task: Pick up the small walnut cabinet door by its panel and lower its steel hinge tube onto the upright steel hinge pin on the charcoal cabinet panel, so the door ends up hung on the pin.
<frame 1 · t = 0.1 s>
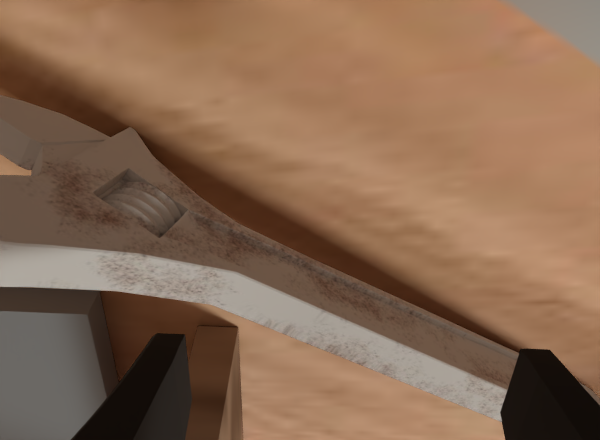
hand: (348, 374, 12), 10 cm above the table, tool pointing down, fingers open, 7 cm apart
wrench: (335, 257, 24), on the table
hinge board: (31, 422, 29), on the table
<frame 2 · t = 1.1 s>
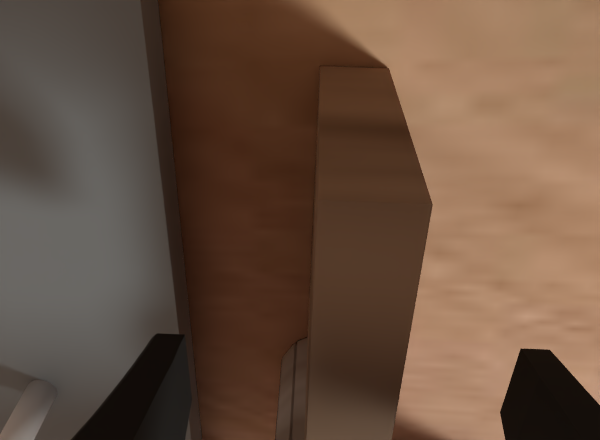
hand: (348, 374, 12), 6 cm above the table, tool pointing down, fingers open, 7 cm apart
hinge board: (35, 271, 19), on the table
door: (330, 369, 21), on the table
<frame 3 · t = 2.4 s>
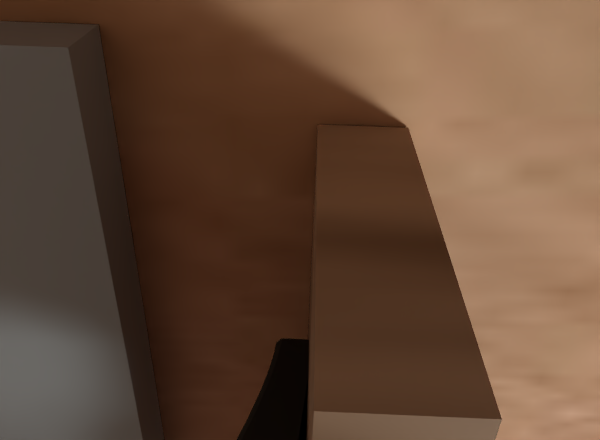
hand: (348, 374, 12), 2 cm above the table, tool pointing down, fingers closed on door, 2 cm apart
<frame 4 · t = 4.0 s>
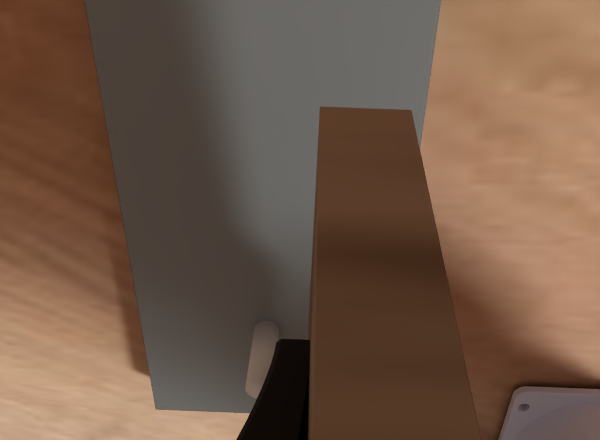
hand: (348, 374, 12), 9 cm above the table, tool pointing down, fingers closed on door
hinge board: (268, 224, 22), on the table
door: (331, 408, 19), point 6 cm above the table, tilted 10°, touching gripper
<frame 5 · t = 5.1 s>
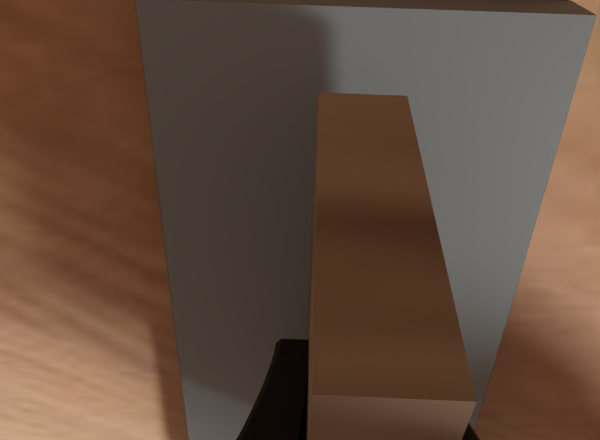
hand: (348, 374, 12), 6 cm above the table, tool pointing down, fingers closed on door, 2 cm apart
hinge board: (337, 287, 18), on the table
door: (331, 401, 19), point 2 cm above the table, tilted 8°, touching gripper, hinge board
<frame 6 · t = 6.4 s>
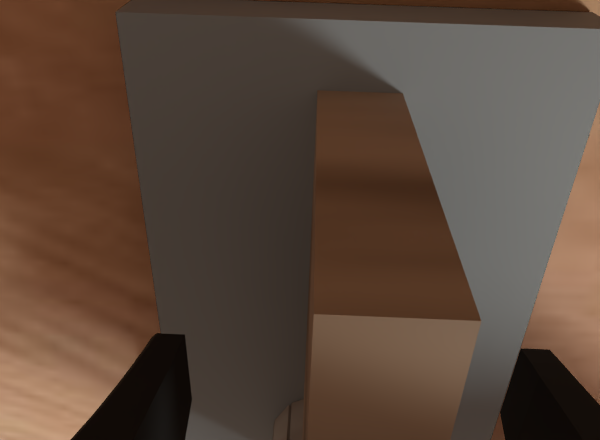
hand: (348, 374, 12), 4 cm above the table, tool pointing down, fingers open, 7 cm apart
hinge board: (337, 314, 17), on the table
door: (330, 433, 18), point 1 cm above the table, touching hinge board
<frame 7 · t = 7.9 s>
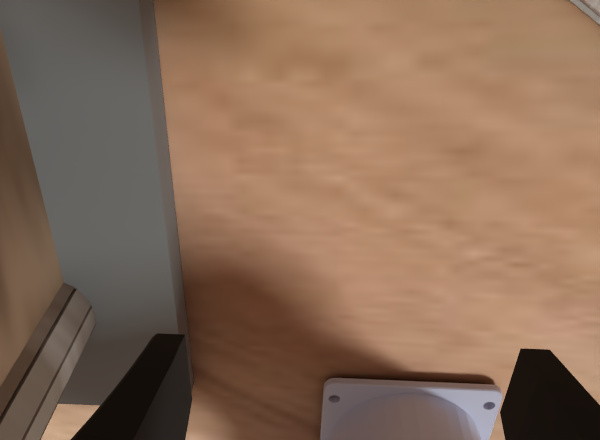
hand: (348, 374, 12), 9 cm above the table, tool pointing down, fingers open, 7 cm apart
hinge board: (45, 213, 22), on the table
door: (48, 312, 22), point 1 cm above the table, touching hinge board
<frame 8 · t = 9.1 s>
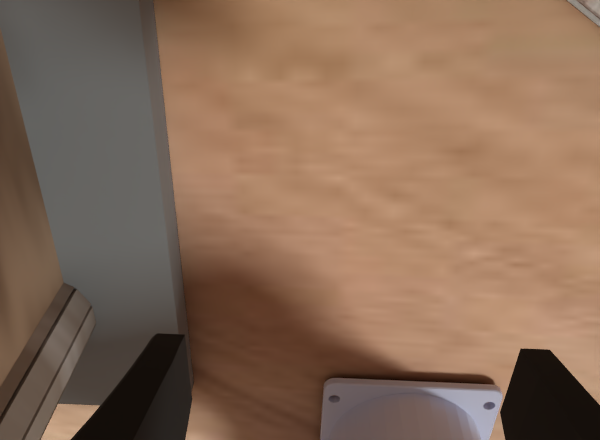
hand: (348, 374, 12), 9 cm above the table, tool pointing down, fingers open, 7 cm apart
hinge board: (45, 213, 22), on the table
door: (48, 312, 22), point 1 cm above the table, touching hinge board
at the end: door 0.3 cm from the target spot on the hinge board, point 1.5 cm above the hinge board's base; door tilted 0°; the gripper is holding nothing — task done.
